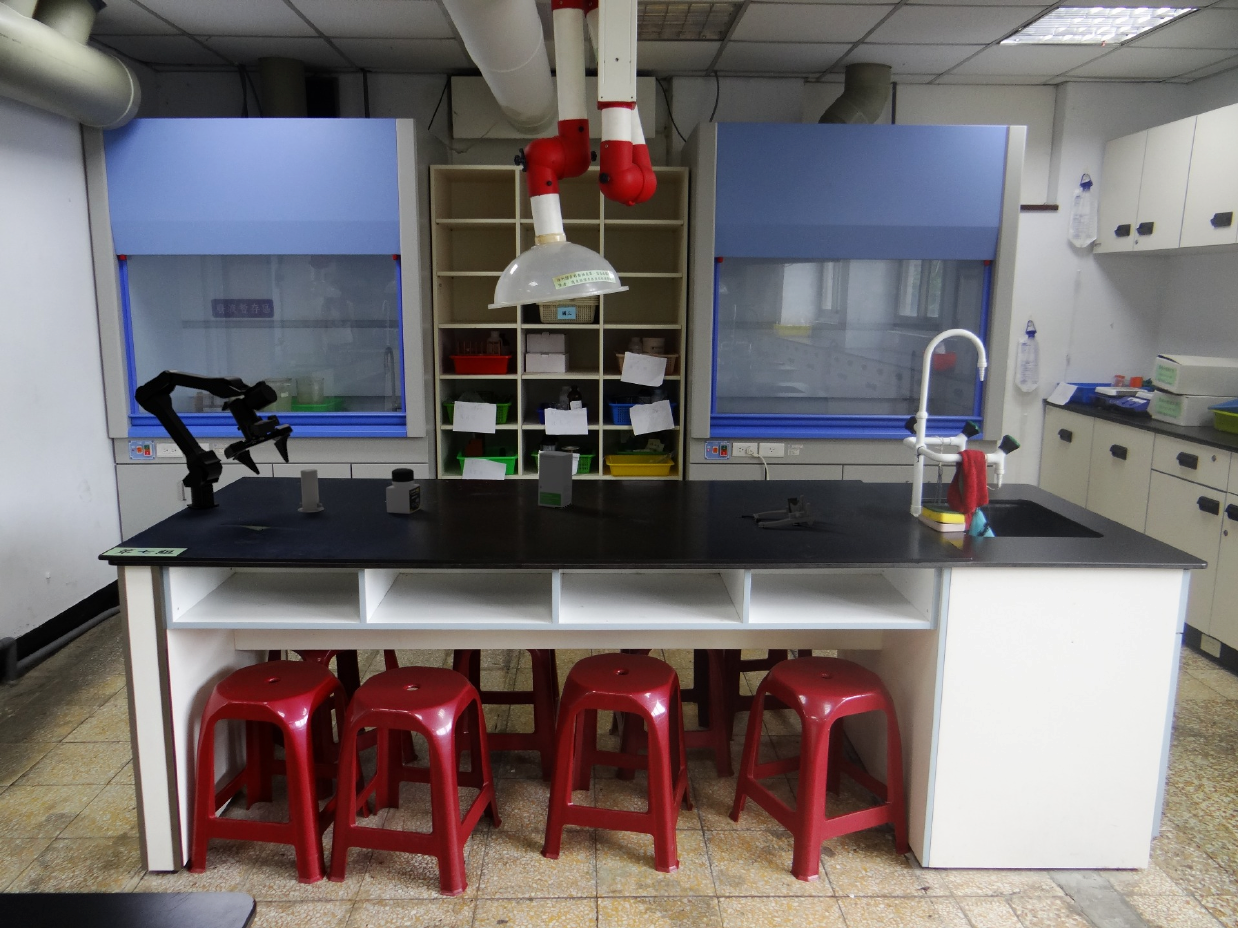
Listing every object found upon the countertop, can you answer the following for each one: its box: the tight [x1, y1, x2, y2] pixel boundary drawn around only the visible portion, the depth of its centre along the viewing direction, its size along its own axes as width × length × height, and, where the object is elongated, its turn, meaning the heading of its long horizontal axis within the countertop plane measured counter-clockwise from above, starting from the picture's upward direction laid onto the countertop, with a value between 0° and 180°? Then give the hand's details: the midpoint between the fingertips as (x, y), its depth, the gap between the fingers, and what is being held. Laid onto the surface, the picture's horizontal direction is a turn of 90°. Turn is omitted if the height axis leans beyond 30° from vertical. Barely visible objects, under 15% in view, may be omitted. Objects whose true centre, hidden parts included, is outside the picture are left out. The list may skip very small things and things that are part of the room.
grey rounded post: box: [298, 468, 323, 511], centre depth 244 cm, size 6×4×11 cm
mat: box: [233, 523, 276, 531], centre depth 231 cm, size 12×12×1 cm
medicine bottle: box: [385, 467, 421, 515], centre depth 246 cm, size 7×7×12 cm
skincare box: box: [537, 450, 574, 508], centre depth 254 cm, size 8×7×16 cm
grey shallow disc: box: [297, 506, 325, 513], centre depth 245 cm, size 7×7×1 cm
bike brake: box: [742, 494, 816, 528], centre depth 235 cm, size 14×7×20 cm
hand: (273, 468), depth 243 cm, fingers open, 9 cm apart
